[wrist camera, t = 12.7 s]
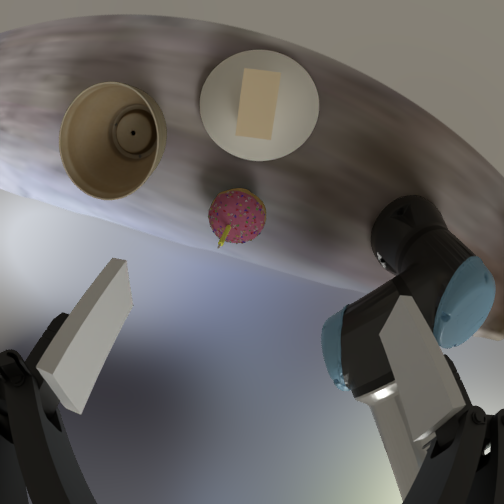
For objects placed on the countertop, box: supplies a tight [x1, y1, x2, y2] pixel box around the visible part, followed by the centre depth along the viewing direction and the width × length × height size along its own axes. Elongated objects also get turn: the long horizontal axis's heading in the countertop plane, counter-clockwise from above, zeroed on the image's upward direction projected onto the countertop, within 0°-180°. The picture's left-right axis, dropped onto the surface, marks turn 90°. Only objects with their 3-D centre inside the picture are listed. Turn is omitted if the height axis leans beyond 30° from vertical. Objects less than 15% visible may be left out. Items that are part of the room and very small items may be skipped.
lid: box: [200, 50, 319, 161], centre depth 31 cm, size 17×17×10 cm
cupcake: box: [208, 188, 266, 248], centre depth 40 cm, size 9×8×12 cm
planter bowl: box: [59, 82, 167, 200], centre depth 34 cm, size 16×16×11 cm
